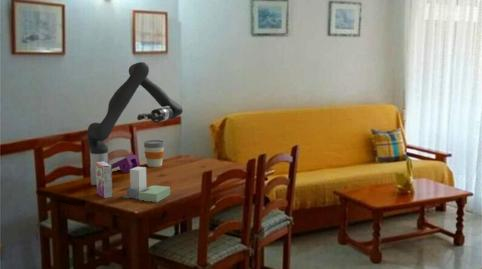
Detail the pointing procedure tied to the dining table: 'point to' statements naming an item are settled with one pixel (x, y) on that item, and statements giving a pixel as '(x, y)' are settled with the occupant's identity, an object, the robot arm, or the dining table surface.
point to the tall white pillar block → (138, 179)
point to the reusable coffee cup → (154, 152)
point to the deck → (149, 193)
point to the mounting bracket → (127, 163)
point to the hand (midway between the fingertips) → (145, 118)
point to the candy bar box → (104, 179)
